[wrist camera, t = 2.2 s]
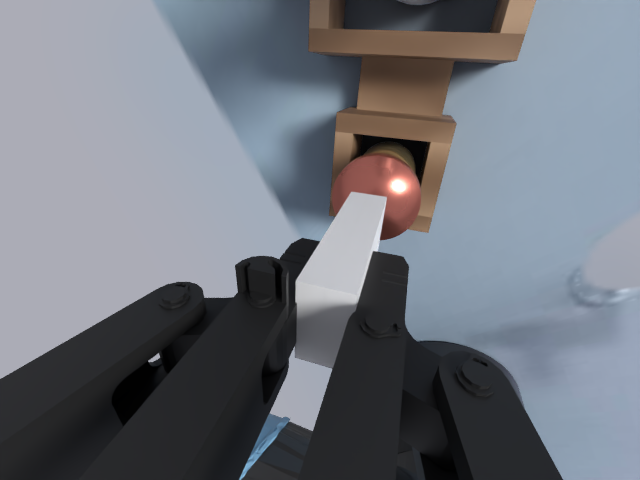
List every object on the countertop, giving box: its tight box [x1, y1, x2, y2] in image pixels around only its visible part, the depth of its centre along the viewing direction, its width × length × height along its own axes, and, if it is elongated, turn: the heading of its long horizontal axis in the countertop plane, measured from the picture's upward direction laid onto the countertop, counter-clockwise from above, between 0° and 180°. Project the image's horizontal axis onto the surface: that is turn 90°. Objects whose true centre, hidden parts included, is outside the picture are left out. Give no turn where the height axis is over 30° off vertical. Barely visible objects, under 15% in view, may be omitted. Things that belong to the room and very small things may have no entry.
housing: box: [308, 0, 536, 233], centre depth 19 cm, size 23×12×4 cm, turn 176°
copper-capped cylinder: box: [332, 141, 421, 240], centre depth 19 cm, size 5×5×7 cm
